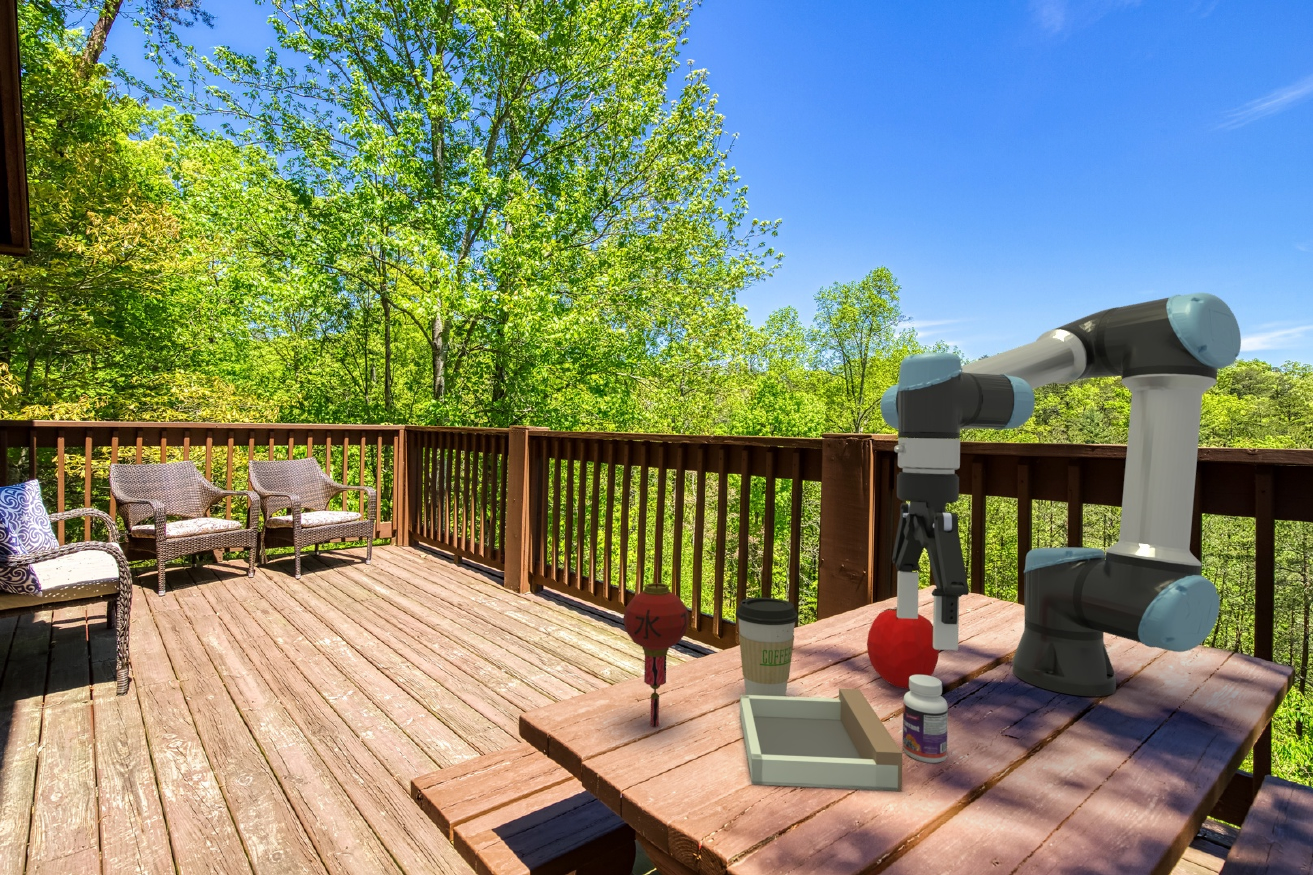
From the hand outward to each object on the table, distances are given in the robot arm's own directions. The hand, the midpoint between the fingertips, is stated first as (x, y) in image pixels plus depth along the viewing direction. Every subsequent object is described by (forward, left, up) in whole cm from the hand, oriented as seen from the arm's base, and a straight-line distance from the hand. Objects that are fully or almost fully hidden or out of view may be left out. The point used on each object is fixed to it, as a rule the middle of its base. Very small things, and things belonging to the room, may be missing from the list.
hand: (924, 632), depth 83 cm
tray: (+15, 0, -16) cm, 22 cm away
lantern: (+36, -5, -16) cm, 40 cm away
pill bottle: (0, 0, -16) cm, 16 cm away
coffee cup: (+19, -16, -16) cm, 30 cm away
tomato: (-5, -24, -16) cm, 29 cm away
